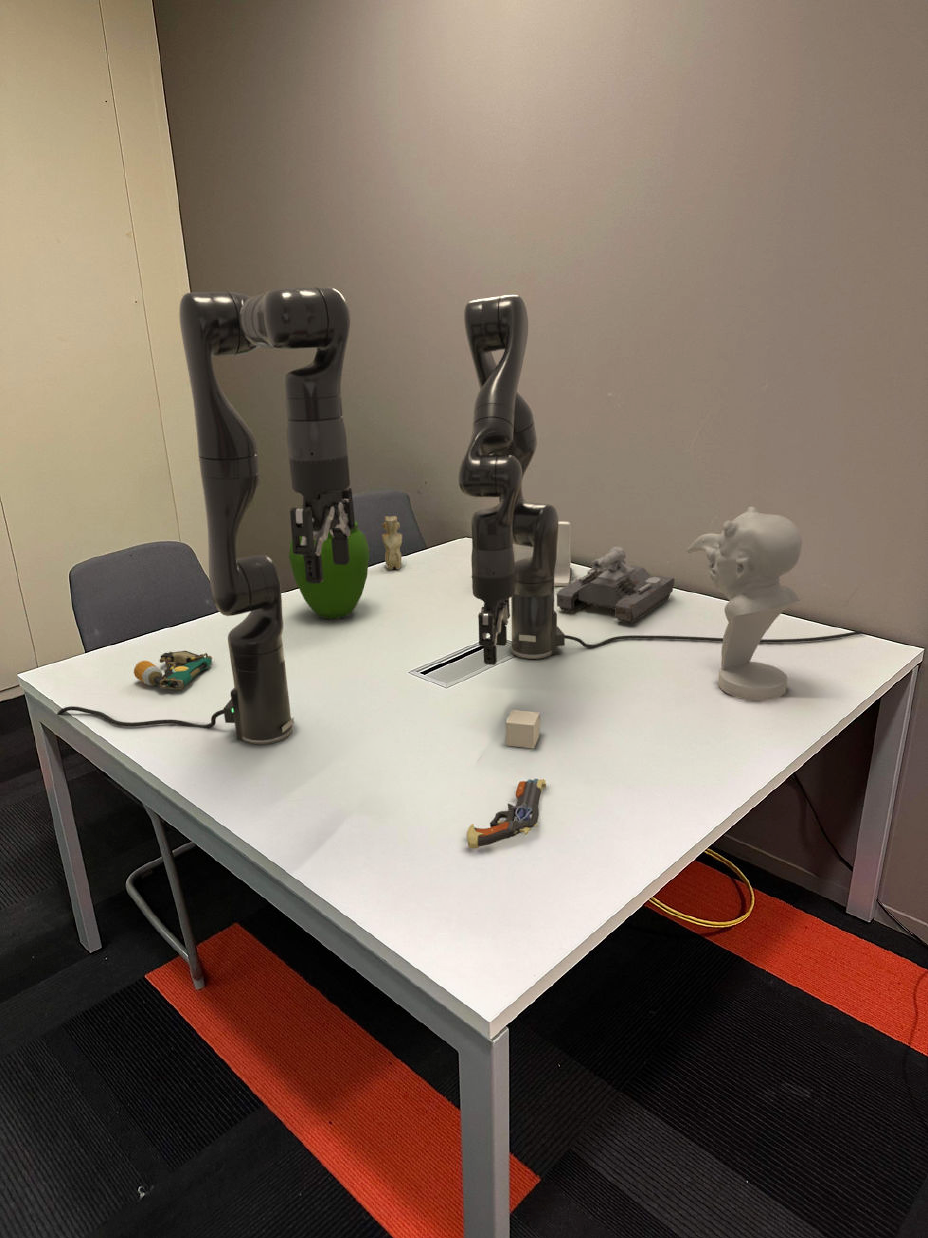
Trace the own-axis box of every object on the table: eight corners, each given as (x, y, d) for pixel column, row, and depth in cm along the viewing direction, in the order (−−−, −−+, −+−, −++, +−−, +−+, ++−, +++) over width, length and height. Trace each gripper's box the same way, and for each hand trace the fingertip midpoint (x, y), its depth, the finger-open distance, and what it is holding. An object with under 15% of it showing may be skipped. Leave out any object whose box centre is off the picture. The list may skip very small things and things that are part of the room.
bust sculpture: (719, 649, 185) (733, 490, 173) (809, 690, 165) (831, 514, 153) (662, 665, 178) (671, 501, 166) (748, 710, 158) (766, 527, 146)
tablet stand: (569, 585, 229) (570, 524, 223) (476, 584, 232) (475, 523, 226) (570, 566, 246) (571, 508, 240) (484, 564, 249) (483, 507, 243)
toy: (603, 584, 229) (605, 530, 224) (673, 597, 218) (677, 540, 213) (555, 612, 210) (556, 553, 205) (630, 627, 199) (633, 566, 194)
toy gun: (462, 837, 120) (533, 836, 117) (484, 775, 137) (546, 773, 135) (465, 854, 120) (535, 853, 118) (486, 790, 138) (547, 788, 136)
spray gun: (177, 659, 191) (231, 671, 185) (120, 684, 176) (176, 698, 171) (176, 641, 190) (230, 653, 184) (118, 665, 175) (174, 678, 169)
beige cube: (506, 745, 149) (505, 722, 147) (512, 732, 153) (512, 709, 152) (533, 748, 148) (533, 725, 146) (539, 735, 152) (539, 712, 150)
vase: (389, 608, 216) (383, 514, 208) (339, 633, 201) (330, 533, 192) (330, 596, 226) (322, 506, 218) (278, 619, 211) (267, 523, 202)
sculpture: (404, 563, 253) (401, 513, 247) (403, 570, 246) (400, 519, 241) (384, 564, 253) (381, 514, 247) (383, 571, 246) (380, 520, 241)
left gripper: (320, 463, 103) (332, 591, 108) (366, 444, 115) (374, 559, 121) (265, 462, 105) (279, 587, 111) (316, 443, 118) (326, 556, 123)
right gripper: (505, 584, 142) (507, 672, 148) (522, 557, 154) (523, 640, 160) (462, 581, 144) (465, 669, 150) (481, 556, 156) (484, 637, 162)
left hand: (328, 572), depth 116 cm, fingers open, 8 cm apart
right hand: (495, 654), depth 155 cm, fingers open, 8 cm apart
